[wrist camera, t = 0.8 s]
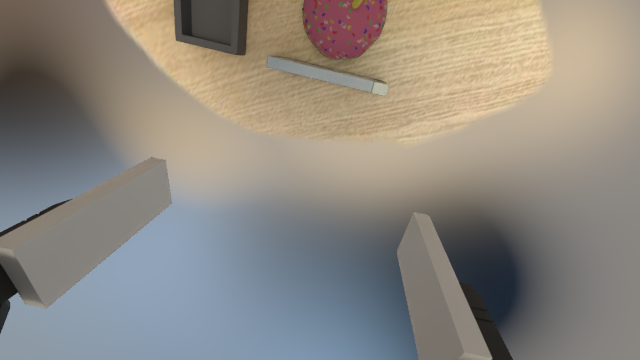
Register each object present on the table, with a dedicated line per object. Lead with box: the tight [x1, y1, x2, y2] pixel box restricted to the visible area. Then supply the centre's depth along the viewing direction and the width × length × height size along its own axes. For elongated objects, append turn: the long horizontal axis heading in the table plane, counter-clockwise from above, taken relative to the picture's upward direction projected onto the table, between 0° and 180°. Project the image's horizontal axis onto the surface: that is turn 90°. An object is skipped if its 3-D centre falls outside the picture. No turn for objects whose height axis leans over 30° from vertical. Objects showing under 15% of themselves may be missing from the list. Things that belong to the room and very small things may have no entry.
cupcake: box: [302, 0, 387, 60], centre depth 24 cm, size 9×8×12 cm
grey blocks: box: [267, 56, 389, 96], centre depth 27 cm, size 13×14×5 cm
